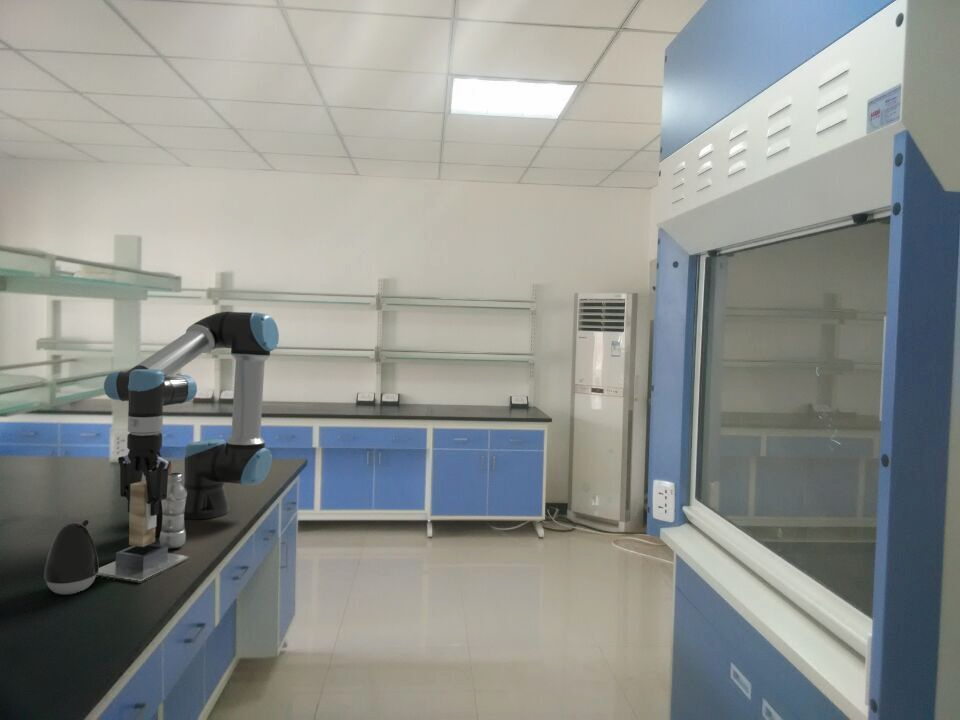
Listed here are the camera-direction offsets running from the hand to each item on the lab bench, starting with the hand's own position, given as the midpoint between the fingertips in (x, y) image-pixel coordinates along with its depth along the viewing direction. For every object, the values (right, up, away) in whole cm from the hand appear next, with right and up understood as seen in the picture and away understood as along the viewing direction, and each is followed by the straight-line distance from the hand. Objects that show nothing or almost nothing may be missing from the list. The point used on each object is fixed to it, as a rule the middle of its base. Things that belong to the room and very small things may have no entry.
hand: (142, 526), depth 152 cm
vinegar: (-9, -9, +25) cm, 28 cm away
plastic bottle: (0, -10, +15) cm, 18 cm away
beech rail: (0, -4, 0) cm, 4 cm away
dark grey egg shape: (-9, -11, -14) cm, 19 cm away
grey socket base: (-1, -10, +1) cm, 10 cm away
